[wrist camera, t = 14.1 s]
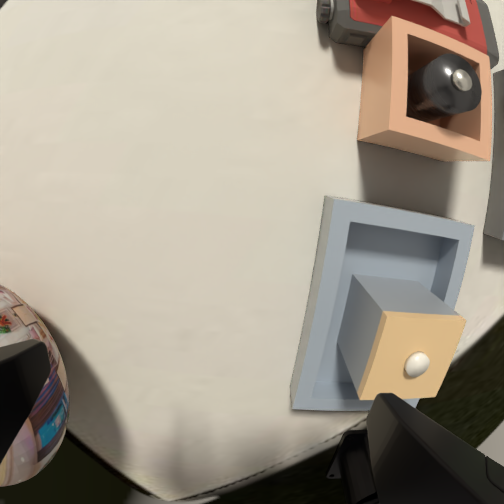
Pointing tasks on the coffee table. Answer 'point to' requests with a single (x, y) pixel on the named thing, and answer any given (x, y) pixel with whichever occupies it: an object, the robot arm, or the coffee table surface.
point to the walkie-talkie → (411, 20)
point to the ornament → (48, 403)
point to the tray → (372, 264)
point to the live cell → (397, 337)
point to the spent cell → (442, 89)
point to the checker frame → (497, 166)
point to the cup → (395, 96)
